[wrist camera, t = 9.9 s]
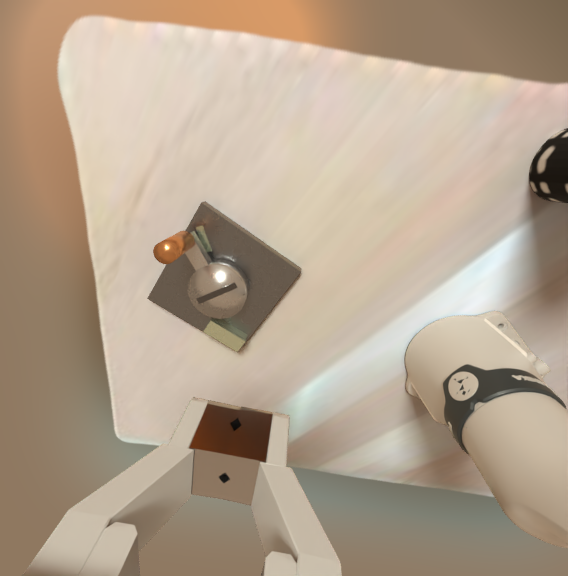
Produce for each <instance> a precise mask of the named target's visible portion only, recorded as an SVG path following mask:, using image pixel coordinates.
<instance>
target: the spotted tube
mask: <svg viewBox="0 0 568 576" xmlns="http://www.w3.org/2000/svg"><path fill="white" fill-rule="evenodd" d="M529 176H530V184H531V187H532V189H533V191H534V192H535V193H536V194H537V195H538V196H539V197H541V198H543V199H546V200H549V201H557V202H564V203H568V128H567V129H564V130H562V131H560V132H558V133H557V134H555V135H554V136H552V137H551V138H550V139H549V140H548V141H547V142H546V143H545V144H544V145H543V146H542V147H541V148H540V150H539V151H538V152H537V154H536V156H535V158H534V159H533V162H532V165H531V168H530V174H529Z"/></svg>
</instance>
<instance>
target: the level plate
mask: <svg viewBox="0 0 568 576" xmlns="http://www.w3.org/2000/svg"><path fill="white" fill-rule="evenodd" d="M186 231H187V232H189V233H191V232H193V231H195V233H196V234H197V236H198V238H199V240H200V241H201V243H202V245H203V246H204V248H205V250H206V252H207V253H208V255H209V257H210V259H211V260H217V259H221V260H227V261H230V262H232V263H234V264H236V265H237V266H238V267H239V268H240V269H242V271H243V272H244V273H245V275H246V277H247V279H248V283H249V293H248V296H247V298H246V301H245V303H244V306H243V307H242V309H241V310H240V311H239V312H238V313H237V314H235V315H234V316H232V317H229V318H224V319H216V318H211V317H208V316H206V315H204V314H202V313H201V312H200V311H198V310H197V309H196V308H195V307H194V305H193V304H192V302H191V300H190V298H189V295H188V283H189V280H190V278H191V276H192V275H193V274H194V273H195V272H196V270H195V269H194V267H193V265H192V264H191V262H190V260H189V259H188V257H187V256H186V254H185V253H184V254H183V255H181V256H180V257H179V258H177V259H176V260H175V261H173V262H172V263H170V264H167V265H166V266H165V268H164V270H163V272H162V274H161V275H160V277H159V279H158V281H157V282H156V284H155V286H154V288H153V290H152V291H151V293H150V295H149V297H148V298H147V299H149V300H150V301H152V302H154V303H156V304H157V305H159V306H161V307H162V308H164V309H166V310H167V311H169V312H171V313H172V314H174V315H176V316H177V317H179V318H181V319H183V320H184V321H186V322H188V323H189V324H191V325H193V326H194V327H196V328H198V329H199V330H201V331H203V332H204V333H206V334H207V335H209V336H211V337H213V338H214V339H216V340H218V341H219V342H221V343H223V344H224V345H226V346H228V347H229V348H231V349H233V350H234V351H236V352H239V350H240V349H241V348H242V346H243V345H244V344H245V343H246V341H247V340H248V339H249V338H250V336H251V335H252V334H253V333H254V331H255V330H256V329H257V327H258V326H259V325H260V324H261V322H262V321H263V320H264V319H265V317H266V316H267V315H268V313H269V312H270V311H271V310H272V308H273V307H274V306H275V305H276V303H277V302H278V301H279V299H280V298H281V297H282V296H283V294H284V293H285V292H286V291H287V289H288V288H289V287H290V285H291V284H292V283H293V282H294V280H295V279H296V278H297V277H298V275H299V274H300V273H301V268H300V267H298V266H297V265H296V264H294V263H293V262H291V261H290V260H288V259H287V258H286V257H284V256H283V255H281V254H280V253H278V252H277V251H275V250H274V249H273V248H271V247H270V246H268V245H267V244H265V243H264V242H263V241H261V240H260V239H258V238H257V237H255V236H254V235H252V234H251V233H250V232H248V231H247V230H245V229H244V228H242V227H241V226H240V225H238V224H237V223H235V222H234V221H232V220H231V219H230V218H228V217H227V216H225V215H224V214H222V213H221V212H219V211H218V210H217V209H215V208H214V207H212V206H211V205H209V204H208V203H207V202H202V203H201V204H200V206H199V208H198V210H197V211H196V213H195V215H194V217H193V219H192V220H191V222H190V224H189V226H188V227H187V229H186Z"/></svg>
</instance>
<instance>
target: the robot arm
mask: <svg viewBox="0 0 568 576" xmlns="http://www.w3.org/2000/svg"><path fill="white" fill-rule="evenodd" d="M499 324H500V325H499ZM498 325H499V326H498ZM405 365H406V369H407V373H408V377H407V381H406V390H407V391H408V393H409V394H410V395H413V396H415V397H418V398H420V399H421V400H422V402H423V403H424V405H425V406H426V408H427V409H428V411H429V413H430V414H431V416H432V417H433V419H434V420H435V421H436V422H440V423H442V424H444V425H447V426H448V427H449V429H450V432H451V434H452V435H453V437H454V438H455V440H456V441H457V442H458V443H459V445H460V446H461V448H462V449H463V450H464V451H465V452H466V453H467V454H469V455H470V456H471V458H472V460H473V461H474V463H475V465H476V466H477V468H478V470H479V471H480V473H481V475H482V476H483V478H484V480H485V481H486V483H487V485H488V486H489V488H490V490H491V491H492V493H493V495H494V496H495V498H496V500H497V501H498V503H499V505H500V506H501V508H502V510H503V511H504V513H505V514H506V515H507V516H508V518H509V519H510V520H511V521H512V522H513V523H514V524H515V525H517V526H518V527H519V528H521V529H522V530H523V531H525V532H526V533H529V534H530V535H532V536H534V537H536V538H538V539H540V540H542V541H545V542H547V543H550V544H553V545H556V546H560V547H565V548H568V410H567V409H566V406H565V404H564V403H563V401H562V400H561V399H560V398H559V397H558V395H557V394H556V393H555V392H554V391H553V390H552V389H551V388H550V387H549V386H548V385H546V383H545V382H544V381H543V378H544V376H545V374H547V373H549V372H550V371H551V369H550V368H549V367H548V366H547V365H546V364H545V363H544V362H543V361H542V360H540V359H539V358H538V357H535V356H534V355H533V353H532V352H531V351H530V349H529V348H528V347H527V345H526V344H525V343H524V341H523V340H522V339H521V337H520V336H519V335H518V333H517V332H516V331H515V329H514V328H513V327H512V325H511V324H510V323H509V321H508V320H507V319H506V317H505V316H504V315H503V314H502V313H501V312H498V311H492V312H488V313H484V314H481V315H477V316H467V315H458V316H450V317H446V318H443V319H440V320H437V321H435V322H433V323H431V324H429V325H428V326H426V327H425V328H423V329H422V330H421V331H420V332H419V333H418V334H417V335H416V336H415V337H414V338H413V339H412V341H411V342H410V344H409V346H408V348H407V351H406V355H405ZM289 419H290V418H289V415H285V414H279V413H274V412H273V413H272V412H269V411H263V410H258V409H252V408H246V407H239V406H234V405H229V404H225V403H220V402H215V401H211V400H210V401H209V400H205V399H200V398H195V397H193V398H192V400H191V401H190V402H189V404H188V406H187V408H186V410H185V412H184V414H183V416H182V418H181V420H180V422H179V424H178V426H177V428H176V430H175V432H174V434H173V436H172V438H171V440H170V442H169V444H162V445H160V446H159V447H158V448H156V449H155V450H153V451H152V452H150V453H149V454H148V455H146V456H145V457H144V458H142V459H141V460H139V461H138V462H137V463H135V464H133V465H132V466H131V467H129V468H128V469H127V470H125V471H123V472H122V473H121V474H119V475H118V476H117V477H115V478H114V479H112V480H111V481H109V482H108V483H106V484H105V485H104V486H102V487H101V488H99V489H98V490H96V491H95V492H94V493H92V494H91V495H89V496H88V497H87V498H85V499H84V500H82V501H81V502H80V503H78V504H77V505H75V506H74V507H72V508H71V509H69V510H68V512H67V513H66V515H65V516H64V517H63V519H62V520H61V522H60V523H59V524H58V526H57V527H56V529H55V530H54V532H53V533H52V535H51V536H50V537H49V539H48V540H47V542H46V543H45V544H44V546H43V547H42V549H41V550H40V551H39V553H38V554H37V556H36V557H35V558H34V560H33V561H32V563H31V564H30V566H29V567H28V568H27V570H26V571H25V573H24V574H23V575H22V576H140V566H139V551H140V550H141V549H142V548H143V547H144V546H145V545H146V544H147V543H148V542H149V541H150V540H151V538H152V537H153V536H154V535H155V534H156V533H157V532H158V531H159V530H160V529H161V528H162V527H163V526H164V525H165V524H166V522H168V520H169V519H170V518H171V517H172V516H173V515H174V514H175V513H176V512H177V511H178V510H179V509H180V507H182V505H183V504H184V503H185V502H186V501H187V500H188V499H189V498H190V497H191V494H193V495H199V496H206V497H213V498H219V499H224V500H228V501H233V502H238V503H242V504H246V505H251V509H252V513H253V516H254V519H255V523H256V526H257V530H258V533H259V536H260V539H261V543H262V547H263V550H264V553H265V557H266V559H265V562H264V566H263V570H262V573H261V576H342V574H341V564H340V560H339V559H338V557H337V555H336V553H335V551H334V549H333V547H332V545H331V543H330V542H329V539H328V537H327V536H326V534H325V532H324V530H323V528H322V526H321V524H320V522H319V520H318V518H317V516H316V514H315V512H314V510H313V508H312V506H311V505H310V503H309V501H308V499H307V497H306V495H305V493H304V491H303V489H302V487H301V485H300V483H299V481H298V479H297V477H296V476H295V474H294V472H293V470H292V468H289V467H286V465H287V450H288V435H289Z"/></svg>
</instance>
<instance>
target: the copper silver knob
mask: <svg viewBox="0 0 568 576" xmlns="http://www.w3.org/2000/svg"><path fill="white" fill-rule="evenodd" d="M153 253H154V256H155V258H156V259H157V260H158V261H159V262H161V263H163V264H170V263H172V262H173V261H175V260H176V259H177V258H179V257H180V256H181V255H183V254H184V253H185V254H186V256H187V257H188V259H189V260H190V262H191V264H192V265H193V267H194V269H195V270H196V272H195V273H194V274H193V275H192V276H191V278H190V280H189V283H188V295H189V298H190V300H191V302H192V304H193V305H194V307H195V308H196V309H197V310H198V311H200V312H201V313H202V314H204V315H206V316H208V317H211V318H216V319H224V318H229V317H232V316H234V315H235V314H237V313H238V312H239V311H240V310H241V309H242V307H243V306H244V303H245V301H246V298H247V296H248V293H249V283H248V279H247V277H246V275H245V273H244V272H243V271H242V269H240V268H239V267H238V266H237V265H236V264H234V263H232V262H230V261H227V260H221V259H217V260H211V259H210V257H209V255H208V253H207V252H206V250H205V248H204V246H203V245H202V243H201V241H200V240H199V238H198V236H197V234H196V233H195V231H193V232H191V233H189V232H187V231H180V232H178V233H177V234H175V235H173V236H171V237H169V238H167V239H165V240H164V241H162V242H160V243H158V244H157V245H156V246H155V247H154V250H153Z"/></svg>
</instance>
